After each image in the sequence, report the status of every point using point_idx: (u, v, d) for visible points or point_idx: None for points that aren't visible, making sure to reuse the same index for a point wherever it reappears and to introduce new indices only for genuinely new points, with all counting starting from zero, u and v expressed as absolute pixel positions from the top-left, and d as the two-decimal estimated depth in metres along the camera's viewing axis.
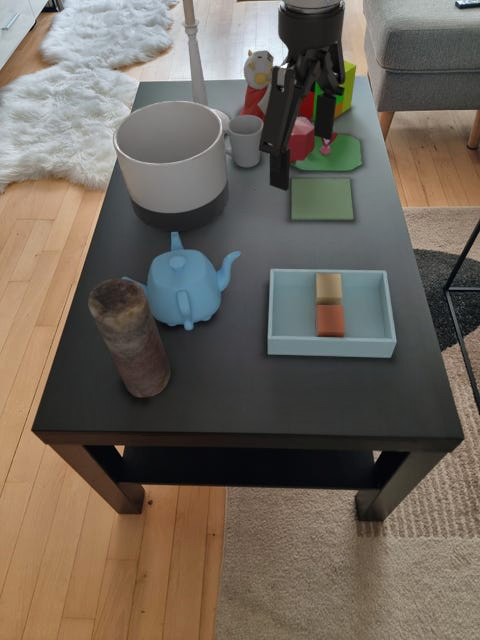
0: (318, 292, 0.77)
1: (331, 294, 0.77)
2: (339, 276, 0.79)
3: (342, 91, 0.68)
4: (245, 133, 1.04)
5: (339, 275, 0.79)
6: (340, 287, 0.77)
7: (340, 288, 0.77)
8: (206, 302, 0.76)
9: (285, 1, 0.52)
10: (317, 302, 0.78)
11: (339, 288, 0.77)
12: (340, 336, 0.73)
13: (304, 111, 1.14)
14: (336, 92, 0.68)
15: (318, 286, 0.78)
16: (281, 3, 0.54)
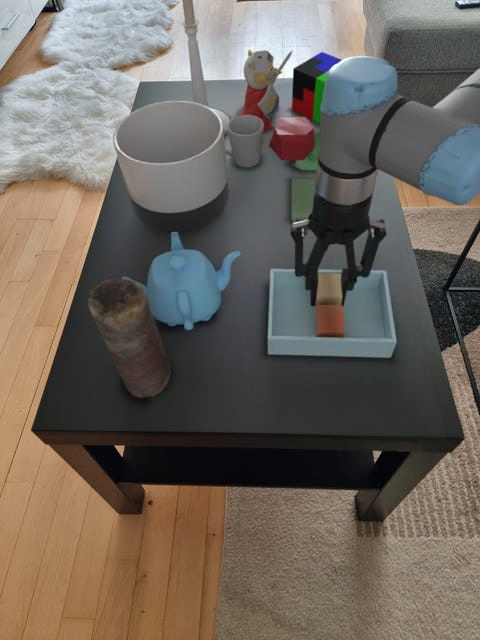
0: (318, 292, 0.77)
1: (331, 294, 0.77)
2: (339, 276, 0.79)
3: (353, 281, 0.74)
4: (245, 133, 1.04)
5: (339, 275, 0.79)
6: (340, 287, 0.77)
7: (340, 288, 0.77)
8: (206, 302, 0.76)
9: None
10: (317, 302, 0.78)
11: (338, 288, 0.77)
12: (340, 336, 0.73)
13: (304, 111, 1.14)
14: (350, 277, 0.74)
15: (318, 286, 0.78)
16: None
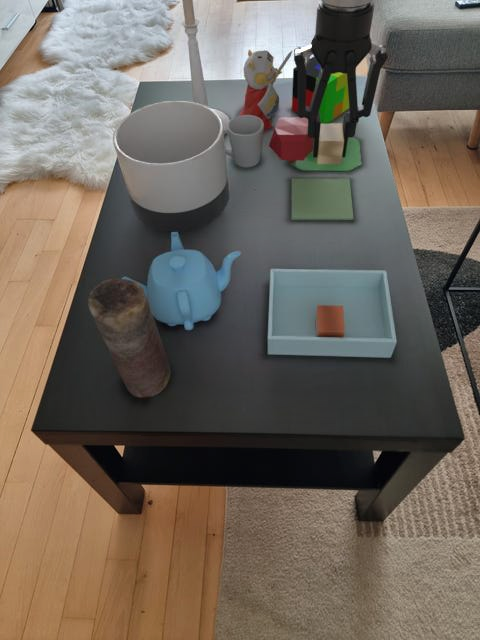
0: (320, 137, 0.79)
1: (333, 138, 0.78)
2: (341, 125, 0.80)
3: (355, 120, 0.75)
4: (245, 133, 1.04)
5: (341, 124, 0.80)
6: (342, 133, 0.79)
7: (342, 134, 0.79)
8: (206, 302, 0.76)
9: None
10: (319, 148, 0.79)
11: (340, 134, 0.79)
12: (340, 336, 0.73)
13: None
14: (351, 116, 0.76)
15: (320, 133, 0.79)
16: None
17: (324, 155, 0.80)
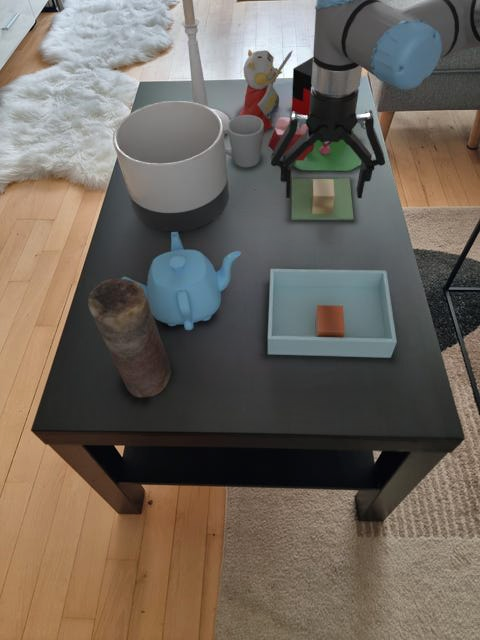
0: (314, 192, 0.91)
1: (325, 193, 0.91)
2: (332, 181, 0.93)
3: (371, 168, 0.85)
4: (245, 133, 1.04)
5: (332, 180, 0.93)
6: (333, 189, 0.91)
7: (333, 189, 0.91)
8: (206, 302, 0.76)
9: None
10: (313, 202, 0.92)
11: (332, 189, 0.91)
12: (340, 336, 0.73)
13: (304, 111, 1.14)
14: (368, 166, 0.86)
15: (314, 188, 0.92)
16: None
17: (317, 207, 0.92)
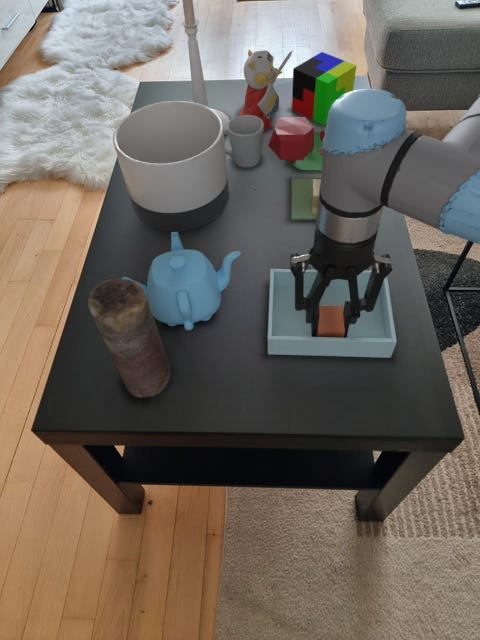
0: (314, 192, 0.91)
1: None
2: None
3: (356, 316, 0.70)
4: (245, 133, 1.04)
5: None
6: None
7: None
8: (206, 302, 0.76)
9: None
10: (313, 202, 0.92)
11: None
12: (340, 336, 0.73)
13: (304, 111, 1.14)
14: (353, 311, 0.70)
15: (314, 188, 0.92)
16: None
17: (317, 207, 0.92)
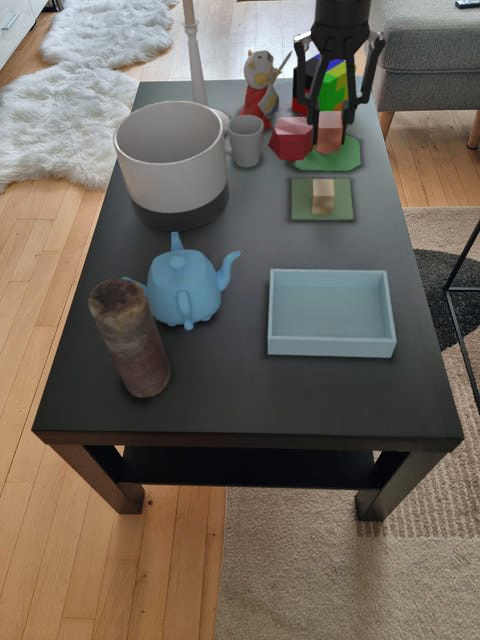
0: (314, 192, 0.91)
1: (325, 193, 0.91)
2: (332, 181, 0.93)
3: (353, 107, 0.76)
4: (245, 133, 1.04)
5: (332, 180, 0.93)
6: (333, 189, 0.91)
7: (333, 189, 0.91)
8: (206, 302, 0.76)
9: None
10: (313, 202, 0.92)
11: (332, 189, 0.91)
12: (338, 135, 0.80)
13: (304, 111, 1.14)
14: (350, 103, 0.76)
15: (314, 188, 0.92)
16: None
17: (317, 207, 0.92)
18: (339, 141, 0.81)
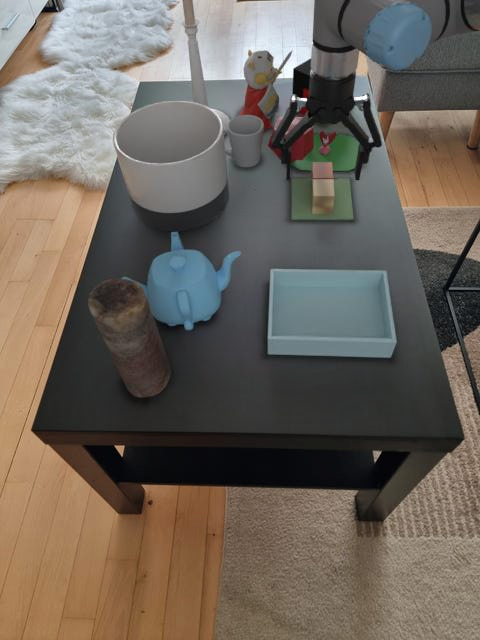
0: (314, 192, 0.91)
1: (325, 193, 0.91)
2: (332, 181, 0.93)
3: (369, 150, 0.88)
4: (245, 133, 1.04)
5: (332, 180, 0.93)
6: (333, 189, 0.91)
7: (333, 189, 0.91)
8: (206, 302, 0.76)
9: None
10: (313, 202, 0.92)
11: (332, 189, 0.91)
12: None
13: (304, 111, 1.14)
14: (365, 148, 0.89)
15: (314, 188, 0.92)
16: None
17: (317, 207, 0.92)
18: None
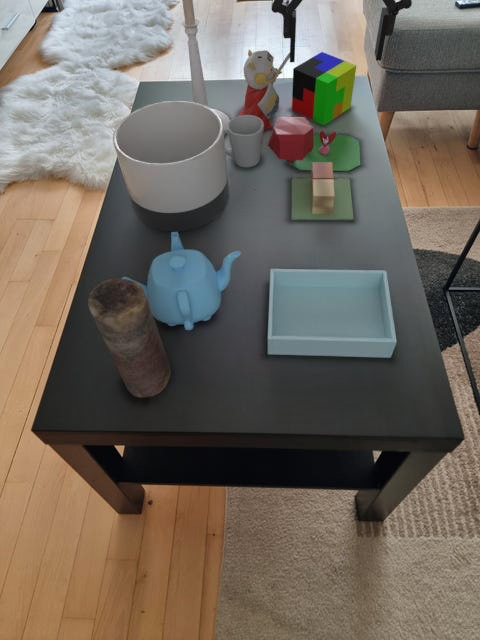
0: (314, 192, 0.91)
1: (325, 193, 0.91)
2: (332, 181, 0.93)
3: (395, 11, 0.70)
4: (245, 133, 1.04)
5: (332, 180, 0.93)
6: (333, 189, 0.91)
7: (333, 189, 0.91)
8: (206, 302, 0.76)
9: None
10: (313, 202, 0.92)
11: (332, 189, 0.91)
12: None
13: (304, 111, 1.14)
14: (390, 10, 0.70)
15: (314, 188, 0.92)
16: None
17: (317, 207, 0.92)
18: None
